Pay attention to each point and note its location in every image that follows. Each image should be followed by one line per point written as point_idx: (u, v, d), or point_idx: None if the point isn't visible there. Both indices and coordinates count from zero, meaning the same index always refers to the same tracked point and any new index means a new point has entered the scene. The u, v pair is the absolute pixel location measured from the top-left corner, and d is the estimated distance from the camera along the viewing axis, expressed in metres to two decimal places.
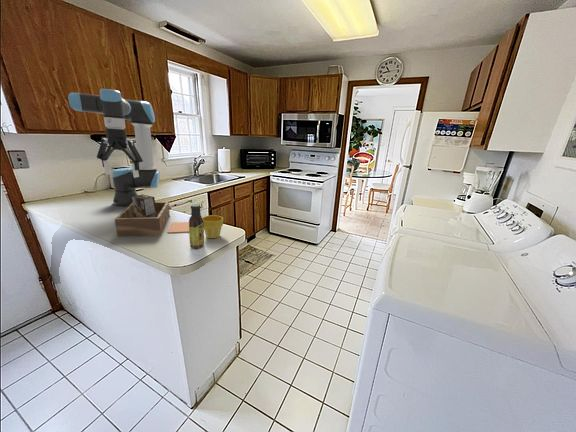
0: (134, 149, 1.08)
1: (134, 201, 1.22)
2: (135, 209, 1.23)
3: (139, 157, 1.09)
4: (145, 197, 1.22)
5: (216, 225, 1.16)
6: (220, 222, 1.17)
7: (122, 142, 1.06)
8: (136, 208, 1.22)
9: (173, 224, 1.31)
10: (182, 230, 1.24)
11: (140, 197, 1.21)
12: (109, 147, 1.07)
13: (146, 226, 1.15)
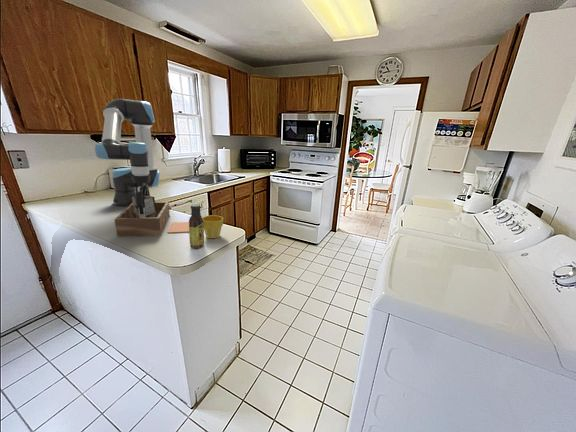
0: (138, 195, 1.15)
1: (134, 201, 1.22)
2: (135, 209, 1.23)
3: (139, 203, 1.16)
4: (145, 197, 1.22)
5: (216, 225, 1.16)
6: (220, 222, 1.17)
7: None
8: (136, 208, 1.22)
9: (173, 224, 1.31)
10: (182, 230, 1.24)
11: None
12: None
13: (146, 226, 1.15)
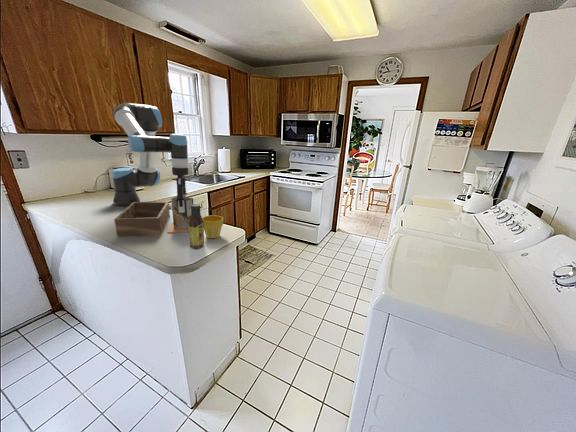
0: (179, 188, 1.15)
1: (174, 203, 1.22)
2: (174, 211, 1.23)
3: (180, 196, 1.15)
4: (185, 198, 1.23)
5: (216, 225, 1.16)
6: (220, 222, 1.17)
7: (177, 179, 1.17)
8: (176, 210, 1.23)
9: (173, 224, 1.31)
10: (182, 230, 1.24)
11: None
12: None
13: (146, 226, 1.15)
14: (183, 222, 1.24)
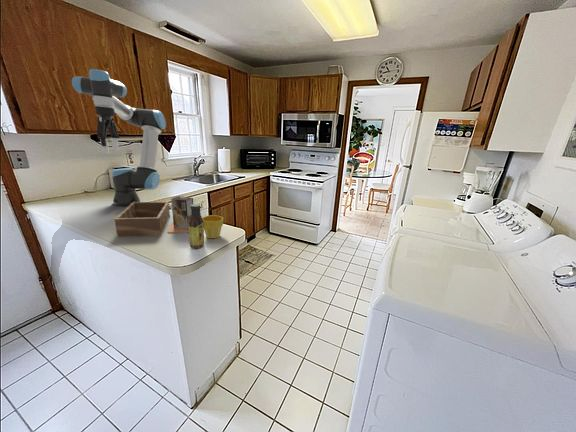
0: (99, 125, 1.10)
1: (174, 203, 1.22)
2: (174, 211, 1.23)
3: (100, 132, 1.10)
4: (185, 198, 1.23)
5: (216, 225, 1.16)
6: (220, 222, 1.17)
7: None
8: (176, 210, 1.23)
9: (173, 224, 1.31)
10: (182, 230, 1.24)
11: (180, 199, 1.22)
12: None
13: (146, 226, 1.15)
14: (184, 222, 1.24)
